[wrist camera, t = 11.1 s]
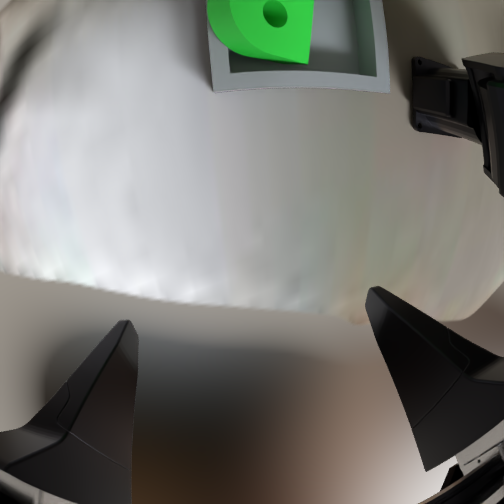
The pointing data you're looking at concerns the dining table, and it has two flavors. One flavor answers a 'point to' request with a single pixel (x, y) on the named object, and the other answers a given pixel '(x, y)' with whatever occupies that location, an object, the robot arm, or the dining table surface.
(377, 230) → the dining table surface
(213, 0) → the mechanical part
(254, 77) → the parts tray
